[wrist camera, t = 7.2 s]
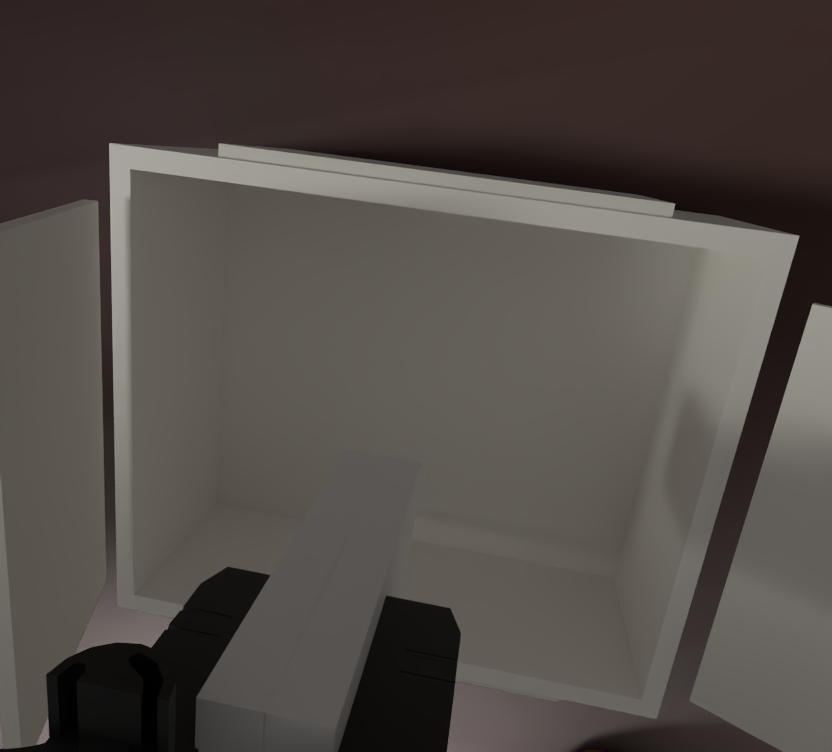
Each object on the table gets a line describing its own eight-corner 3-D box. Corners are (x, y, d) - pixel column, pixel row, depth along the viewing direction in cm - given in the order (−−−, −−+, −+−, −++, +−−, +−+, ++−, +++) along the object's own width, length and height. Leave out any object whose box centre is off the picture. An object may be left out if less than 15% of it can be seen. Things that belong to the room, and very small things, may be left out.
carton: (208, 513, 25) (117, 615, 19) (220, 139, 21) (108, 129, 15) (621, 592, 23) (654, 728, 18) (720, 205, 19) (803, 220, 14)
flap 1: (106, 580, 18) (94, 580, 18) (97, 200, 15) (83, 199, 15) (23, 774, 13) (5, 775, 13) (-17, 237, 10) (-42, 235, 10)
